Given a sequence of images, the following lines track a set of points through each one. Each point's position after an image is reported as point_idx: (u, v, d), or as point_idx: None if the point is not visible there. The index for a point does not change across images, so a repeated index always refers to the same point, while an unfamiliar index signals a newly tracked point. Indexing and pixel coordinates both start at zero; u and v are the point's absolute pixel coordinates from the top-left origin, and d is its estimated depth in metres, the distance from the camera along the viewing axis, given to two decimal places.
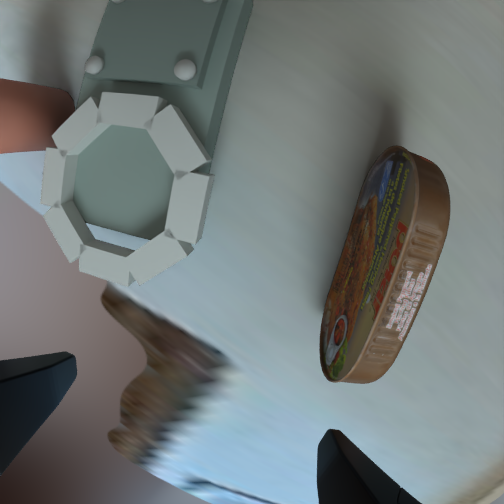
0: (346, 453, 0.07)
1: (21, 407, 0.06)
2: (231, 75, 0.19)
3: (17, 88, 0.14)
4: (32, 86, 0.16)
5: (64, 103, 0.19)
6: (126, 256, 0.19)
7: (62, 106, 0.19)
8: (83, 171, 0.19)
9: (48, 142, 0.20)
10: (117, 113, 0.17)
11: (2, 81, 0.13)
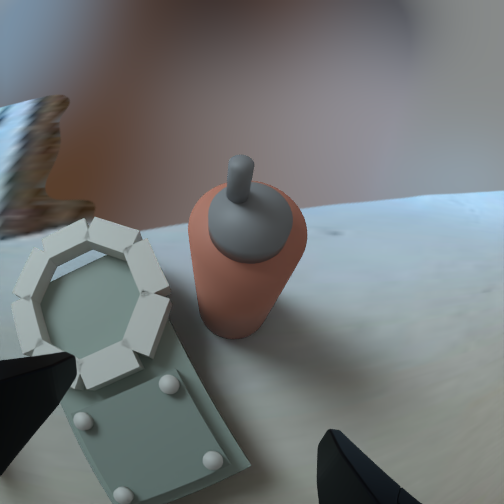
0: (346, 453, 0.07)
1: (21, 407, 0.06)
2: None
3: (227, 315, 0.18)
4: (236, 325, 0.20)
5: (214, 329, 0.23)
6: (50, 259, 0.20)
7: (211, 326, 0.22)
8: (130, 291, 0.21)
9: None
10: (111, 357, 0.18)
11: (241, 311, 0.17)
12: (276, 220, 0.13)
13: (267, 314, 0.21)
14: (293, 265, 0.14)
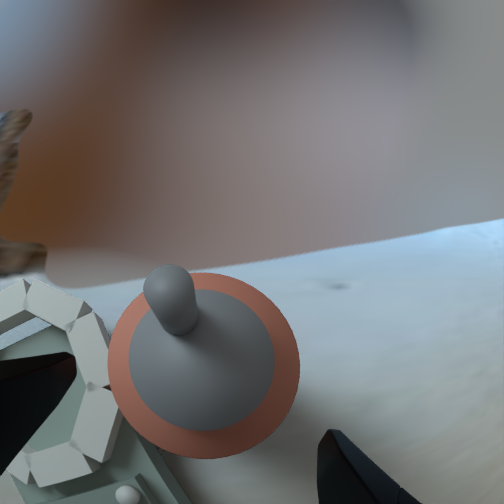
0: (346, 453, 0.07)
1: (21, 407, 0.06)
2: None
3: None
4: None
5: None
6: None
7: None
8: (79, 375, 0.15)
9: None
10: (59, 458, 0.12)
11: None
12: (245, 367, 0.07)
13: None
14: (274, 427, 0.08)
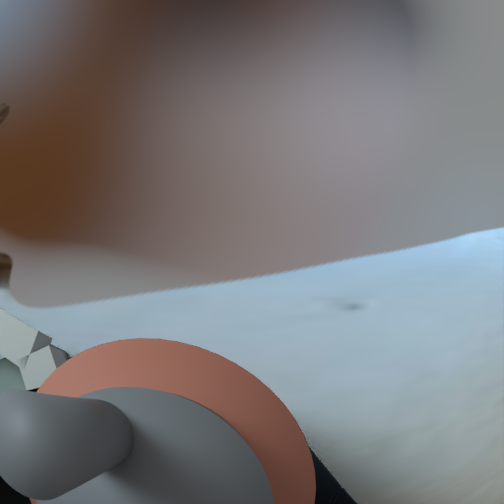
0: None
1: None
2: None
3: None
4: None
5: None
6: None
7: None
8: None
9: None
10: None
11: None
12: None
13: None
14: None
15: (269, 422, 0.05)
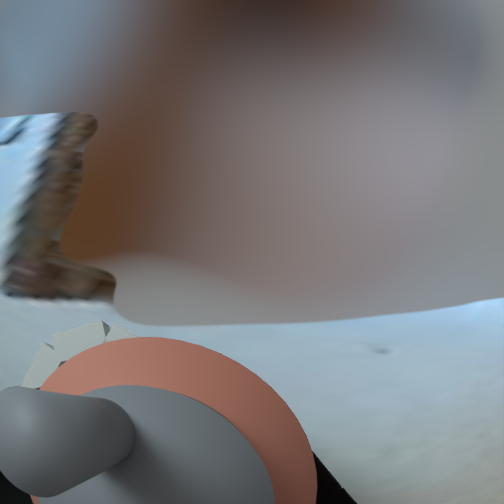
0: None
1: None
2: None
3: None
4: None
5: None
6: (61, 362, 0.17)
7: None
8: None
9: None
10: None
11: None
12: None
13: None
14: None
15: (270, 421, 0.05)
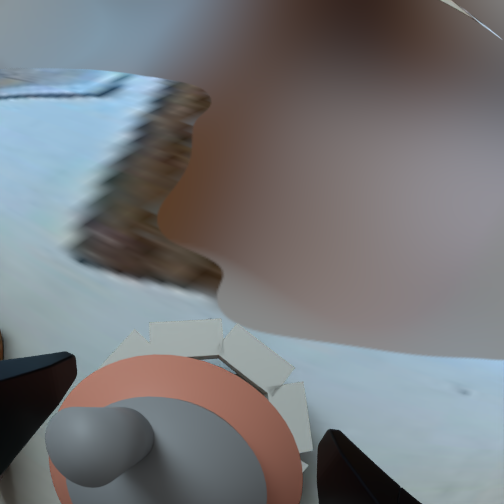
0: (346, 453, 0.07)
1: (21, 407, 0.06)
2: None
3: None
4: None
5: None
6: None
7: None
8: None
9: None
10: None
11: None
12: None
13: None
14: None
15: (263, 423, 0.06)
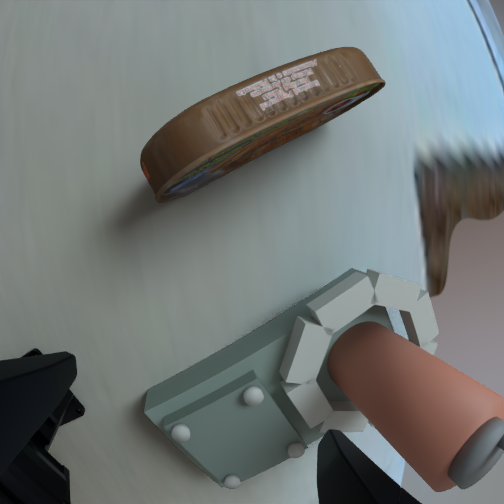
0: (346, 453, 0.07)
1: (21, 407, 0.06)
2: (217, 354, 0.22)
3: (376, 418, 0.14)
4: (360, 408, 0.16)
5: (337, 365, 0.19)
6: (408, 311, 0.20)
7: (340, 363, 0.19)
8: None
9: (376, 333, 0.19)
10: (318, 406, 0.19)
11: (388, 438, 0.13)
12: (482, 472, 0.09)
13: None
14: (445, 489, 0.10)
15: None
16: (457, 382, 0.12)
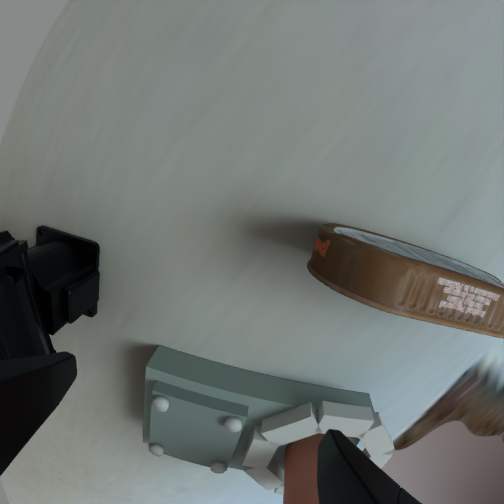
0: (346, 453, 0.07)
1: (21, 407, 0.06)
2: (232, 369, 0.24)
3: None
4: (286, 489, 0.18)
5: (299, 449, 0.21)
6: None
7: (303, 450, 0.20)
8: None
9: None
10: (261, 459, 0.21)
11: None
12: None
13: None
14: None
15: None
16: None
